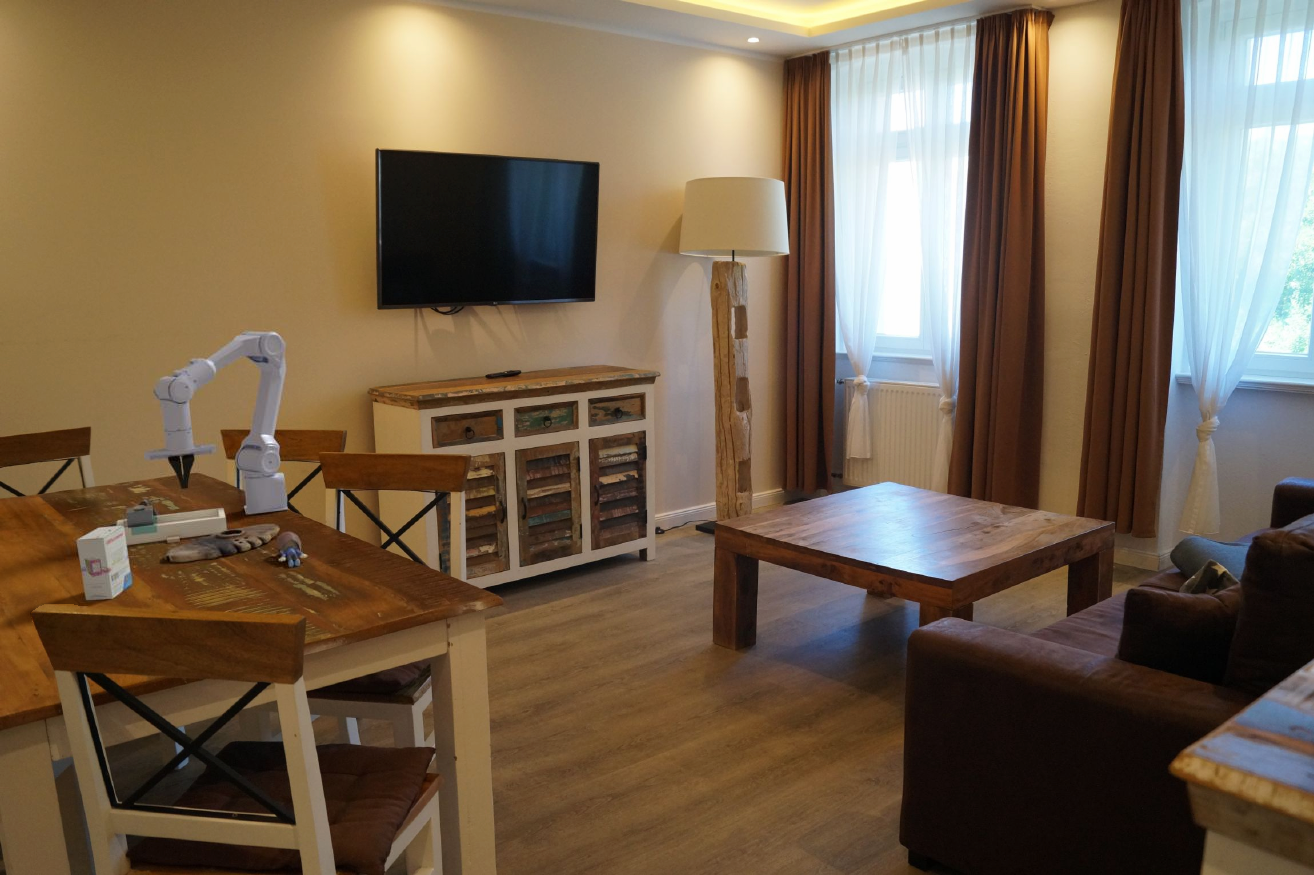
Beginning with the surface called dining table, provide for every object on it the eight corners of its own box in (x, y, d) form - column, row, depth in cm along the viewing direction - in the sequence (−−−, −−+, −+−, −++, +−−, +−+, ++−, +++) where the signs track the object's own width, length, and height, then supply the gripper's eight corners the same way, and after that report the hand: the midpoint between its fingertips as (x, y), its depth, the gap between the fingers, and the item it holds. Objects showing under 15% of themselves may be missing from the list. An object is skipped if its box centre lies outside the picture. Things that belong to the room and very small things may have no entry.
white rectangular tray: (224, 522, 229) (223, 507, 229) (227, 535, 218) (226, 520, 217) (119, 535, 220) (117, 520, 219) (116, 549, 208) (114, 534, 207)
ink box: (106, 585, 185) (98, 525, 183) (133, 584, 185) (125, 524, 183) (83, 600, 176) (75, 538, 174) (112, 599, 177) (104, 537, 175)
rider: (154, 524, 220) (151, 502, 219) (153, 529, 216) (151, 507, 215) (129, 527, 218) (126, 505, 217) (128, 532, 214) (125, 510, 213)
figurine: (310, 572, 196) (300, 549, 206) (308, 549, 194) (299, 526, 204) (281, 577, 193) (273, 553, 203) (279, 553, 192) (271, 530, 202)
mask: (147, 544, 203) (257, 512, 222) (150, 560, 204) (259, 526, 223) (183, 557, 194) (294, 522, 213) (186, 573, 195) (296, 537, 214)
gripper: (211, 423, 226) (217, 480, 228) (141, 430, 219) (148, 488, 222) (214, 428, 220) (220, 486, 222) (142, 434, 213) (149, 494, 215)
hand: (184, 487), depth 222 cm, fingers closed
